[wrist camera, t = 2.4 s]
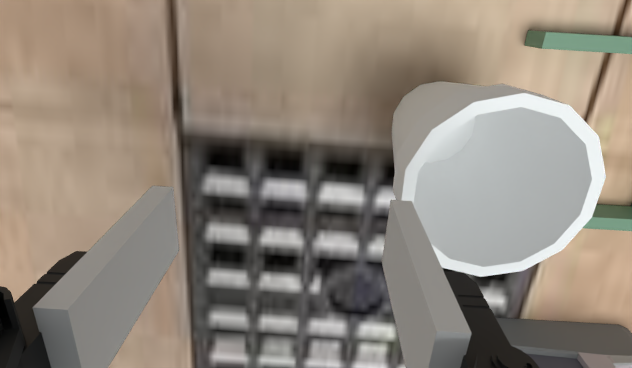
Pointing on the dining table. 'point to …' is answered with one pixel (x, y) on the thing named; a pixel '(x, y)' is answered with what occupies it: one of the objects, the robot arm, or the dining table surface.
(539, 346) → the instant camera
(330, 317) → the dining table surface
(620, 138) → the dining table surface
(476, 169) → the foam cup
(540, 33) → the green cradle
